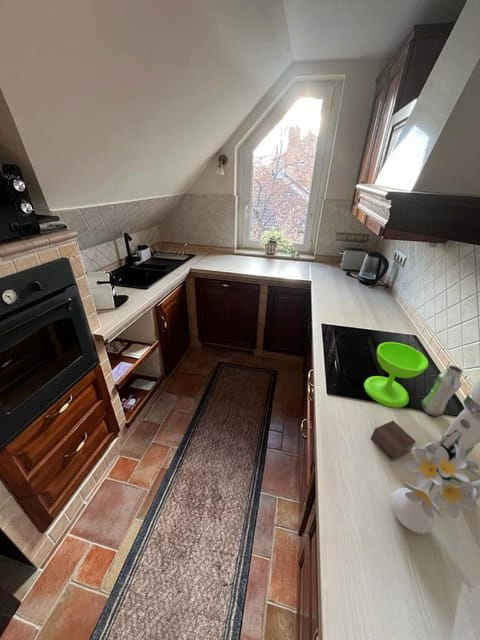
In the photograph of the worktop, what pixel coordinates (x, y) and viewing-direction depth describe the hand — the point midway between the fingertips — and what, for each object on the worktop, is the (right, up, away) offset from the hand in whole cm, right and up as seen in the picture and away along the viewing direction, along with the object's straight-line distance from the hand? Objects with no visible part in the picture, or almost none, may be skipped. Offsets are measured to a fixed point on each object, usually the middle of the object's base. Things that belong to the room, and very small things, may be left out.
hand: (450, 452), depth 69 cm
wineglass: (0, +8, +31) cm, 32 cm away
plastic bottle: (+12, +3, +23) cm, 26 cm away
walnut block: (-10, -3, +11) cm, 15 cm away
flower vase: (-16, -14, -6) cm, 22 cm away
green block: (0, 0, 0) cm, 0 cm away
